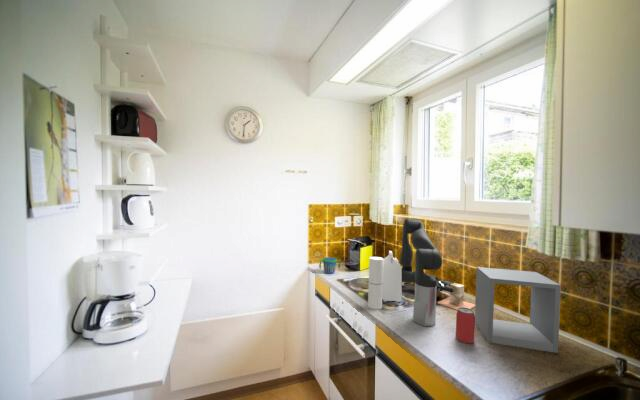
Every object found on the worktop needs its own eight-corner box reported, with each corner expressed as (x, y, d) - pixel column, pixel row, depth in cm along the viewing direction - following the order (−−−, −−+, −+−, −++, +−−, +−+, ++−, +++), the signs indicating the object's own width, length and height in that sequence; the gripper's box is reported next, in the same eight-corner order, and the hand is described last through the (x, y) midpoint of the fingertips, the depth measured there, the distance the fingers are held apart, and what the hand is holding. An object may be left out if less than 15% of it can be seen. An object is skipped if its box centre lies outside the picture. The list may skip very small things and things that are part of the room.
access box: (557, 352, 99) (560, 285, 98) (487, 342, 105) (490, 278, 104) (533, 330, 115) (536, 272, 115) (474, 321, 122) (476, 266, 121)
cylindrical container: (365, 306, 136) (366, 258, 135) (372, 302, 141) (374, 255, 141) (377, 310, 131) (379, 260, 130) (384, 306, 136) (386, 258, 136)
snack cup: (337, 270, 200) (338, 256, 199) (341, 274, 189) (342, 260, 189) (317, 271, 196) (318, 257, 196) (320, 275, 186) (321, 261, 186)
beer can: (472, 337, 108) (473, 308, 108) (475, 345, 102) (477, 315, 102) (454, 334, 110) (455, 305, 110) (456, 342, 104) (458, 312, 104)
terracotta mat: (464, 312, 131) (464, 311, 131) (437, 303, 142) (437, 302, 142) (476, 306, 140) (476, 304, 140) (449, 297, 151) (449, 296, 151)
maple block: (463, 304, 140) (464, 285, 140) (459, 306, 137) (459, 287, 137) (454, 300, 144) (454, 282, 144) (449, 303, 141) (450, 284, 141)
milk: (378, 292, 155) (379, 249, 154) (398, 294, 153) (399, 250, 153) (379, 301, 143) (381, 253, 143) (401, 302, 142) (403, 254, 141)
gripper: (421, 276, 149) (450, 284, 136) (434, 272, 158) (462, 279, 145) (421, 289, 149) (449, 299, 137) (434, 284, 158) (462, 293, 145)
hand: (456, 289), depth 141 cm, fingers open, 8 cm apart
